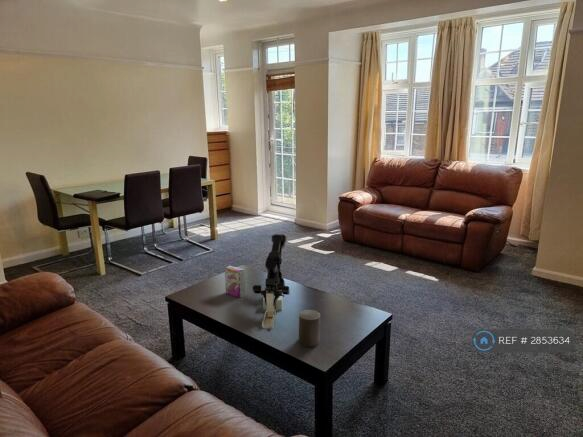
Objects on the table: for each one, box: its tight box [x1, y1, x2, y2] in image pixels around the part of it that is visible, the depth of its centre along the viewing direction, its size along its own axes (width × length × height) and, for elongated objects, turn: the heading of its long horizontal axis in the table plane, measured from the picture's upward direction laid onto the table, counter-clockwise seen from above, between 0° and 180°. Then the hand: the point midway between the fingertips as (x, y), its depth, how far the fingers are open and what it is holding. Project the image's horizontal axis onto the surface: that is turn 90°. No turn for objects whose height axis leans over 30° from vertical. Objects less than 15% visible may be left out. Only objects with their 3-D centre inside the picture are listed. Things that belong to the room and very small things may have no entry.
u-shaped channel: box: [261, 309, 277, 330], centre depth 207 cm, size 14×5×3 cm, turn 175°
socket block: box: [262, 296, 284, 311], centre depth 220 cm, size 5×10×6 cm, turn 85°
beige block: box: [266, 291, 276, 317], centre depth 214 cm, size 12×4×13 cm, turn 175°
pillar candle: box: [298, 309, 321, 348], centre depth 187 cm, size 10×10×15 cm
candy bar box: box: [224, 265, 246, 298], centre depth 236 cm, size 11×5×16 cm, turn 58°
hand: (269, 305), depth 208 cm, fingers closed on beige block, 3 cm apart
